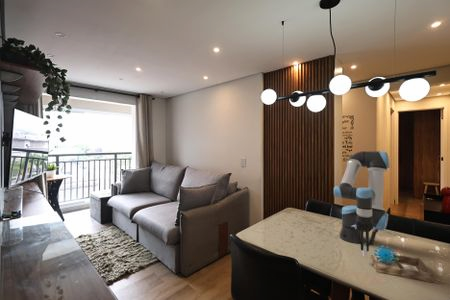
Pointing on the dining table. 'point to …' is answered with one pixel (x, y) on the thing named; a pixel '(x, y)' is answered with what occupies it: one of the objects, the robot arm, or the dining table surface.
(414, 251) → the dining table surface
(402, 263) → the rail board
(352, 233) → the robot arm
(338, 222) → the dining table surface
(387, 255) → the gear
